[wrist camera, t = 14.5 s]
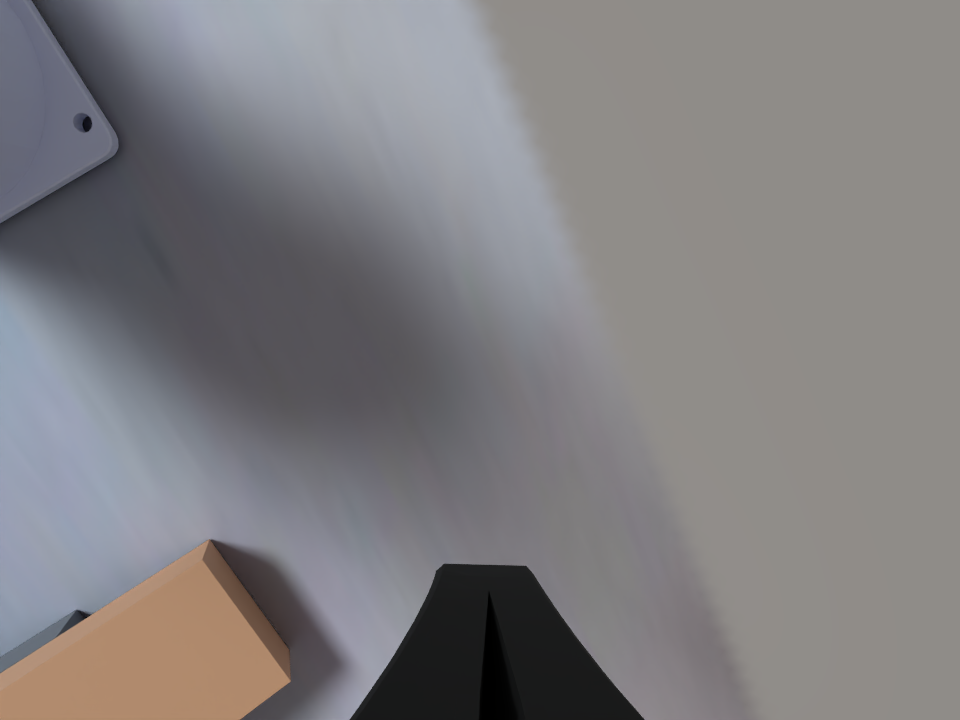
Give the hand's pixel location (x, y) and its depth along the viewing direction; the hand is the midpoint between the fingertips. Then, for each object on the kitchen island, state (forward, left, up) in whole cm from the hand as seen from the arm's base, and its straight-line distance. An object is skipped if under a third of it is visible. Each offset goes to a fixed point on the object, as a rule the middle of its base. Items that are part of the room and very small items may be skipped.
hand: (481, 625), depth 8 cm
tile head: (+2, -10, -10) cm, 14 cm away
